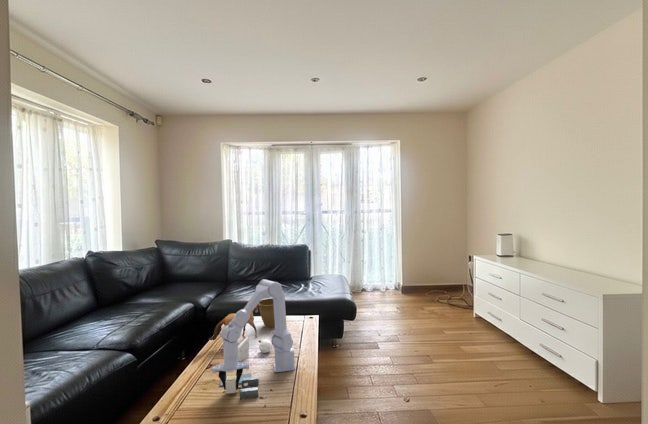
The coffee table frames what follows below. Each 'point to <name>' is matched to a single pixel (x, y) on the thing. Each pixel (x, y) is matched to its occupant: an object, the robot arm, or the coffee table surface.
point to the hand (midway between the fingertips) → (231, 387)
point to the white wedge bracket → (243, 349)
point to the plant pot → (267, 312)
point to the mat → (240, 378)
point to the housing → (249, 391)
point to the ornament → (265, 346)
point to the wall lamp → (233, 385)
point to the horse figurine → (229, 319)
